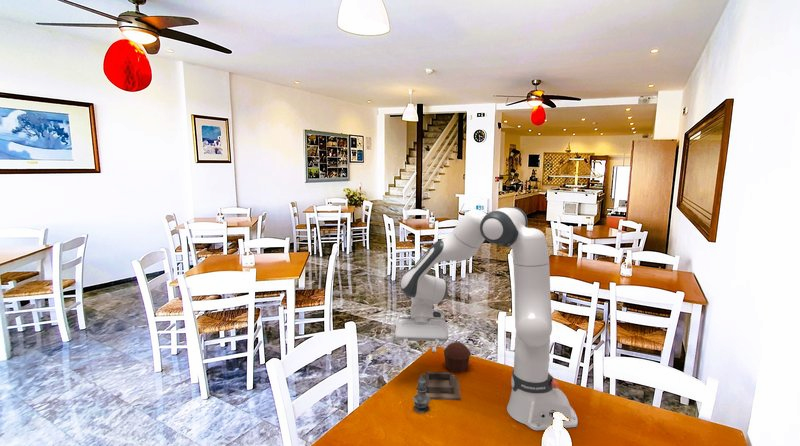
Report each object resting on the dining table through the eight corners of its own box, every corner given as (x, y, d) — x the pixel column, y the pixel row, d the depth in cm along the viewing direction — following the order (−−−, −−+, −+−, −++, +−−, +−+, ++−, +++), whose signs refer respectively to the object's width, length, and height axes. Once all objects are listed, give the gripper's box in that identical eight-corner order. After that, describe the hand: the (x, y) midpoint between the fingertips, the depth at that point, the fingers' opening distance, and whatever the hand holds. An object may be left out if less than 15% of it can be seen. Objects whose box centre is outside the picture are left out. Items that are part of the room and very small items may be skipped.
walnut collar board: (457, 377, 156) (457, 369, 155) (460, 400, 141) (461, 391, 140) (419, 376, 157) (419, 368, 156) (419, 398, 142) (419, 389, 141)
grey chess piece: (428, 414, 133) (429, 382, 131) (411, 412, 134) (411, 380, 132) (430, 404, 139) (431, 372, 137) (414, 402, 140) (414, 371, 138)
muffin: (442, 359, 170) (442, 338, 169) (468, 360, 170) (468, 338, 168) (444, 374, 158) (445, 351, 157) (472, 375, 158) (472, 351, 156)
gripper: (394, 312, 151) (392, 348, 143) (448, 313, 150) (449, 349, 141) (395, 319, 156) (393, 353, 148) (447, 320, 155) (448, 355, 146)
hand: (421, 351), depth 144 cm, fingers open, 8 cm apart
